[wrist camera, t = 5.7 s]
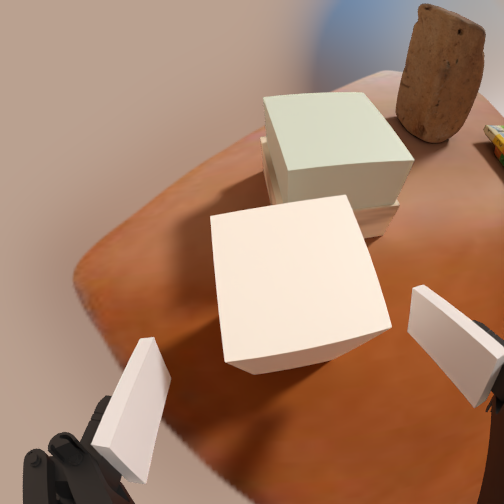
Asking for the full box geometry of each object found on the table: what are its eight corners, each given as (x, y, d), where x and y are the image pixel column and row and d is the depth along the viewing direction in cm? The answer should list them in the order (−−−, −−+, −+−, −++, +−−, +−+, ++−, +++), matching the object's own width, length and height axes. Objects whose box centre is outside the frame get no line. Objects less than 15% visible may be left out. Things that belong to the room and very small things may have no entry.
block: (414, 146, 29) (453, 13, 12) (387, 113, 33) (409, -6, 15) (462, 144, 29) (503, 39, 12) (435, 115, 33) (463, 15, 15)
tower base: (382, 236, 24) (399, 205, 20) (280, 253, 24) (280, 221, 20) (349, 162, 29) (356, 129, 24) (263, 172, 29) (260, 137, 24)
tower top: (394, 203, 20) (414, 160, 15) (287, 218, 20) (288, 170, 15) (355, 133, 24) (362, 92, 19) (266, 141, 24) (262, 97, 20)
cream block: (331, 360, 19) (391, 327, 9) (254, 374, 19) (224, 361, 9) (315, 289, 22) (345, 194, 11) (243, 302, 22) (210, 216, 11)
